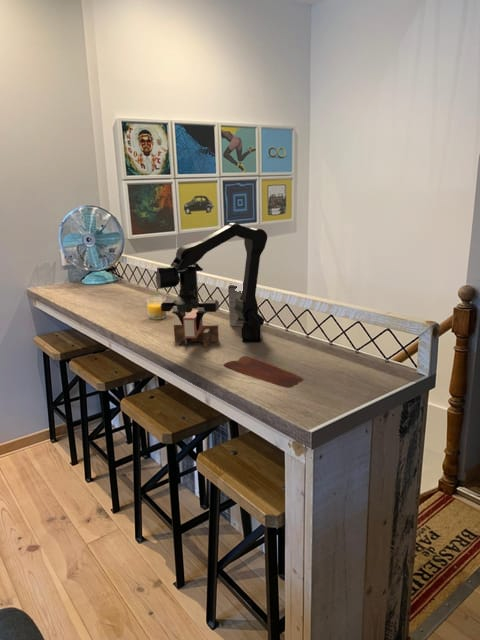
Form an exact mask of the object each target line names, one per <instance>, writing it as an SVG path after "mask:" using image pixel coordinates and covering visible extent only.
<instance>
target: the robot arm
mask: <svg viewBox="0 0 480 640" xmlns="http://www.w3.org/2000/svg"><path fill="white" fill-rule="evenodd" d="M235 237H238V238H241V239H243V242H244V243H243V244H244V248H245V252H246V259H245V266H244V275H243V281H242V282H243V291H242V295H241V297H240V298H239V299H238V298H236V300H235V301H236V305H235V308H234V309H235V310H236V314H237V315H238V316H239V317H240V318H241V321H243V322H244V323H243V326H241V328H240V329H241V339H242V340H241V341H242V342H244V343H245V342H246V343H247V342H248V343H261V342H262V338H263V335H262V326H263V325H264V323H265V318H264V317H263V316H261V315H260V314H259V309H258V308H259V307H258V300H257V297H256V295H257V294H256V293H257V284H258V277H259V269H260V261H261V256H262V253H263V252H264V250H265V248H266V245H267V242H268V241H267V240H268V234H267V232H266V231H265V230H264V229H262V228H257V227H246V226H243V225H242V224H239V223H237V222H230V223H228V224H227V225H226V226H224V227H222V228H220V229H219V230H217V231H215V232H213V233H211V234H209V235H207V236H206V237H204V238H203V239H202V238H201V240H199V241H196V242H191V243H188V244H185V245H182V246H179V248H177V250H176V253H175V257H174V259H173V261H172V263H171V264H170V266H161V267H160V266H158V267H156V273H155V282H156V286H157V289H159V290H160V289H169V288H176V287H177V286H178V285H179V288H180V289H179V292H178V293H179V295H178V297H177V299H168V298H167V299H165V300H164V301H163V302H161V304H160V311H161V312H171V311H172V312H171V313H172V314H174V315H175V316H177V318H178V319H179V321H180V324H182V326H183V317H184V316H185V315H186V314H187V313H189V312H191V311H192V310H194V309H197V310H198V311H197V312H196V315H197V331H198V330H199V327H200V324H201V321H202V322H203V317H204V315H205V314H207V313H216V312H217V311H218V310H219V308H220V302H219V300H217V299H206V300H205V301H204V302H200V297H199V286H198V274H197V272H202V271H203V270H204V268H202V267H201V266H200V265H199V264H198V262H199V261H201V259H202V258H203V257H204V256H205V255H206V254H207V253H208V252H210V251H211V250H213V249H215V248H217V247H219V246H220V245H223V244H224V243H225V242H228V241H229V240H232V239H233V238H235ZM183 328H184V327H183Z"/></svg>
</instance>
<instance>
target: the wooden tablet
mask: <svg viewBox="0 0 480 640" xmlns="http://www.w3.org/2000/svg"><path fill="white" fill-rule="evenodd" d="M223 366H224V367H227V368H229V369H232V370H234V371H236V372H239V373H241V374H245V375H247V376H249V377H253V378H254V379H255V378H256V379H257V380H258V379H259V380H262V381H264V382H267V383H271V384H273V385H275V386H276V385H277V386H279V387H284V388H291V387H294V386H297V385H299V383H300V384H301V382H303V381H304V380H305V378H303V377H301V376H300V375H297V374H295V373H293V372H291V371H287V370H286V369H283V368H281V367H279V366H276V365H272V364H271V363H267V362H266V361H263V360H261V359H257V358H255V357H250V356H248V355H244V356H240V358H238V360H231V361H227V362H225V363H224V364H223Z"/></svg>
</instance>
